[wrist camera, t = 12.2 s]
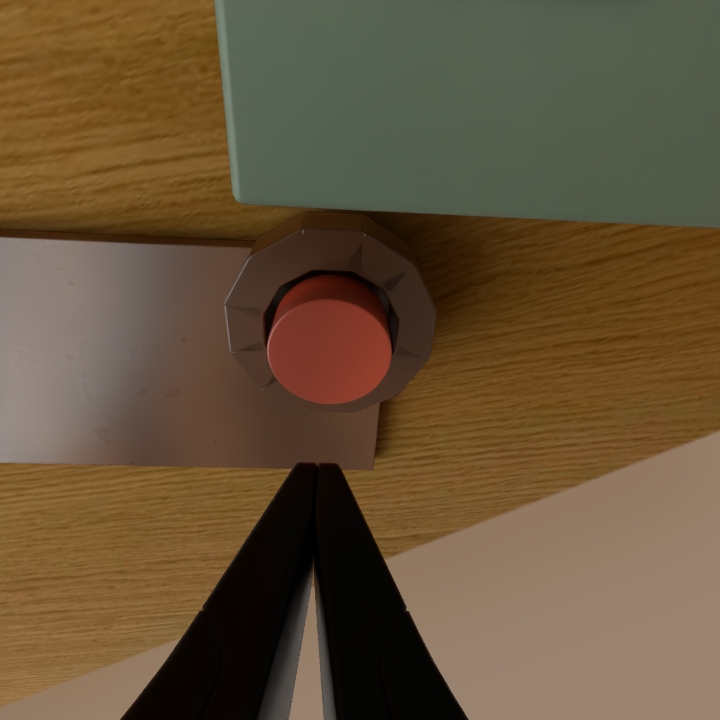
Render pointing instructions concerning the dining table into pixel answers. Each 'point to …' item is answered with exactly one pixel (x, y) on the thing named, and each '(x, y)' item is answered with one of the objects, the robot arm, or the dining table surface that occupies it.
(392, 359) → the panel
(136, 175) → the dining table surface
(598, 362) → the dining table surface
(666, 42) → the toaster
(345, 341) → the button
